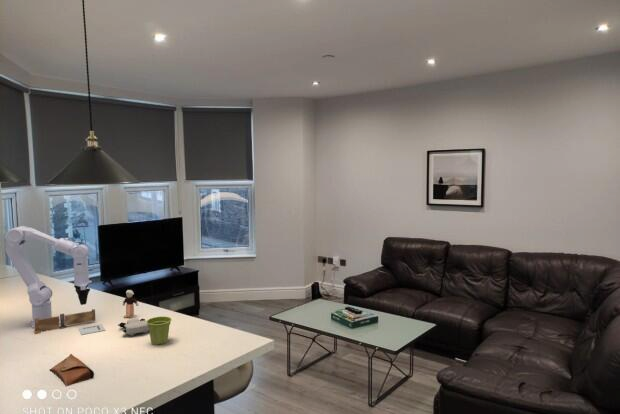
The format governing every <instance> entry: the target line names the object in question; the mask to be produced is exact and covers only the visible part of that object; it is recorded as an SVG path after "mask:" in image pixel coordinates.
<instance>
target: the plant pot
mask: <svg viewBox="0 0 620 414" xmlns="http://www.w3.org/2000/svg"><path fill="white" fill-rule="evenodd" d="M145 321H146V323H147V324H148V327H149V330H148V331H149V332H148V333H149V337H150V343H151V344H152V345H159V344H160V345H161V344H162V345H163V344H164V345H165V344H166V343H167V342H168V341H169V332H170V325H171V322H172V317H170V316H165V315H164V316H163V315H162V316H160V315H159V316H155V317H150V318H148V319H147V320H145Z"/></svg>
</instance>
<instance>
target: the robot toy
mask: <svg viewBox="0 0 620 414" xmlns="http://www.w3.org/2000/svg"><path fill="white" fill-rule="evenodd" d="M146 321H147V320H146V318H141V319H139V318H135V317H134V318H129V319H128V320H127V321H126V322H120V323H118V324H117V327H119V328H121V332H123V333H124V334H126V335H129V336H135V335H136V334H139V333H141V334H143V333H144V334H145V333H147V332H148V331H149V327H148V324H147V323H146Z"/></svg>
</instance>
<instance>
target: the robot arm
mask: <svg viewBox="0 0 620 414" xmlns="http://www.w3.org/2000/svg"><path fill="white" fill-rule="evenodd" d="M4 240H5V249H4V250H5V253H6V255H7V257H8V258H9V260H10V262H11V263H12V265H13V266H14V268H15V270H16V272H17V273H18V274H19V276H20V278H21V280H22V281H23V282H24V284H25V285H26V287H27V294H28V297H29V298H28V299H29V300H28V301H29V302H30V304H31V316H32V317H31V318H32V320H31V321H30V322H31V328H32V329H35V319H36V318H39V319H45V318H51V317H53V315H52V313H53V311H52V300H51V298H52V296H53V290H52V288H50V287H49V286H47V285H46V283H45V282H43V281H42V280H40V277H39V276H38V275H37V273H36V271H35V269H34V268H33V266H32V265H31V263H30V262H29V260H28V258H27V256H26V255H25V253H24V252H23V250H22V249H23V247H24V245H25V242H27V241H37V242H40V243H43V244H47V245H49V246H53V247H54V249H55V251H58V252H60V253H63V254H65V255H68V256H71V257H72V259H73V278H74V281H73V288H75V293H77V296H78V297H77V298H78V300H79V303H80V306H82V305H87V301H88V296H89V293H90V290H91V288H90V287H89V288H88V286H89V284H91V283H93V281H92V280H90V277H89V276H90V275H89V261H88V260H89V256H88V255H89V252H90V249H89V247H88V246H87V245H85V244H84V243H83V244H82V243H80V242H74V241H71V240H69V237H68V238H67V237H60V238H56V237H53V236H51V235H49V234H47V233H44V232H42V231H39V230H37V229H36V228H33V227H29V226H26V225H20V226H18V227H13V228H10V229H8V230H7V232H6V234H5V236H4Z"/></svg>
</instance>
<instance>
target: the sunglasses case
mask: <svg viewBox="0 0 620 414" xmlns="http://www.w3.org/2000/svg"><path fill="white" fill-rule="evenodd" d="M49 371H50V372H52V373H53V374H55V375H56V376H57V377H58V378H59V379H60V380H61V381H62V382H63V383H64V385H65V387H69V386H72V385H75V384H78V383H82V382H85V381H88V380H91V379H93V378H94V377H95V372H94V371H93V369H91V368H90V367H89V366H88V365H87V364H85V363H84V362H83V361H82V360H81V359H80V358H78V357H76V356H75V355H73V354H72V353H70V354H69V355H68V356H67V357H66V358H64V359H62V361H61V360H60V362H59V363H57V364H55V365H54V366H53V367H51V368H50V369H49Z"/></svg>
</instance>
